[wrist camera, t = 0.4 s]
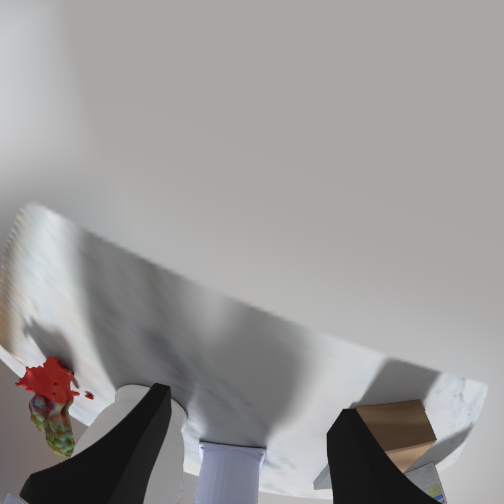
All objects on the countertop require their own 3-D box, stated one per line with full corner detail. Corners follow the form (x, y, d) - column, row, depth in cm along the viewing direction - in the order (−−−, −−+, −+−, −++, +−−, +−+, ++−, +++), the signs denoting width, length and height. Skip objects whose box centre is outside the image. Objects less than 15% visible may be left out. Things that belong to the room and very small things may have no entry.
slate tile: (348, 476, 32) (349, 486, 30) (313, 479, 32) (314, 489, 30) (379, 442, 27) (382, 453, 25) (337, 446, 27) (339, 459, 25)
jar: (98, 364, 23) (30, 478, 9) (195, 387, 23) (156, 535, 9) (121, 422, 27) (81, 515, 13) (200, 440, 27) (177, 548, 13)
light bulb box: (379, 489, 35) (387, 530, 24) (380, 480, 32) (390, 526, 22) (428, 471, 33) (440, 510, 23) (434, 460, 31) (448, 503, 21)
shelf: (398, 435, 26) (409, 471, 20) (326, 443, 26) (332, 485, 21) (426, 398, 23) (444, 437, 18) (347, 407, 23) (358, 455, 18)
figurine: (93, 367, 30) (82, 446, 24) (25, 342, 25) (14, 425, 19) (105, 374, 25) (94, 469, 19) (19, 342, 19) (8, 446, 13)
